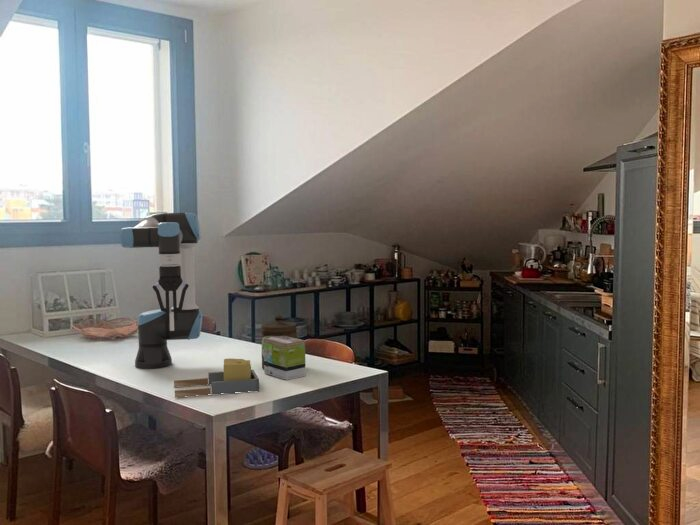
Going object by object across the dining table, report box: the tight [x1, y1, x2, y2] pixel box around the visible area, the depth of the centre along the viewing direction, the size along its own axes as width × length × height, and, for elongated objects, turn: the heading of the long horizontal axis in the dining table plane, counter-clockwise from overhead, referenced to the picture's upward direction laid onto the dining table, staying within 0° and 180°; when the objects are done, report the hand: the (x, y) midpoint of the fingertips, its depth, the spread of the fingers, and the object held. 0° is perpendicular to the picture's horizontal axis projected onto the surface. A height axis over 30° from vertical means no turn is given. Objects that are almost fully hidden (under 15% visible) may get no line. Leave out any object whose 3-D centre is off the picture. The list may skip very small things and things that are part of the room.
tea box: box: [263, 336, 306, 381], centre depth 280 cm, size 15×10×15 cm, turn 43°
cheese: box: [223, 358, 252, 381], centre depth 263 cm, size 10×11×10 cm
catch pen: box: [207, 369, 260, 395], centre depth 262 cm, size 16×17×4 cm
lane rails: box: [173, 377, 212, 398], centre depth 258 cm, size 16×12×2 cm
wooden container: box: [260, 314, 298, 370], centre depth 293 cm, size 15×15×22 cm
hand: (172, 330), depth 257 cm, fingers closed
